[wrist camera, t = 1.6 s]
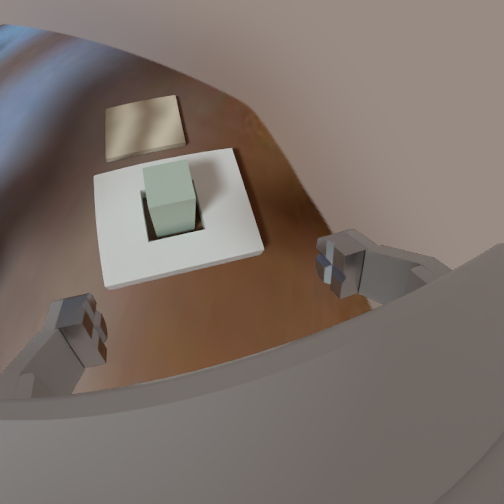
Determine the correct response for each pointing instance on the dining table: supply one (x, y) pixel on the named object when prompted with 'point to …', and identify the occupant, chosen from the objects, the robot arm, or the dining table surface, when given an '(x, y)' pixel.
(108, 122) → the pad
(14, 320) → the dining table surface
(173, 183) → the block
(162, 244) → the holder
